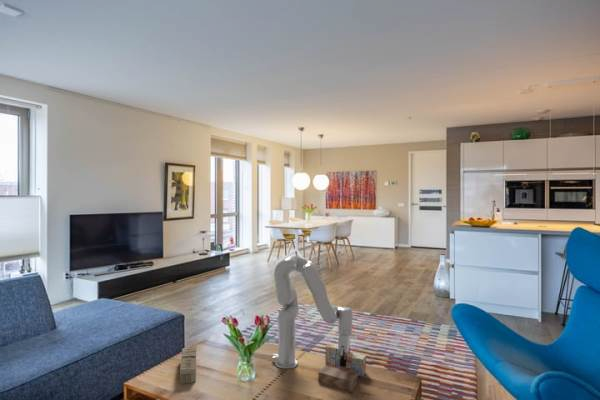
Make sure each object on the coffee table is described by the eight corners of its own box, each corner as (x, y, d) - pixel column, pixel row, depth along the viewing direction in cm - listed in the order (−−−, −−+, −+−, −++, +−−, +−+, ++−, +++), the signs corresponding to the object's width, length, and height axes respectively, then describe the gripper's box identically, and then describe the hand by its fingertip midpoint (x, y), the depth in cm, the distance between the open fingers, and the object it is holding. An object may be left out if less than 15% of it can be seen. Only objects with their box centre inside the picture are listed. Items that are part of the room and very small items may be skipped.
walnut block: (318, 382, 185) (318, 372, 185) (325, 374, 193) (325, 365, 193) (351, 391, 176) (351, 381, 176) (357, 383, 184) (357, 373, 184)
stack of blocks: (366, 372, 195) (366, 349, 195) (362, 377, 189) (362, 353, 190) (329, 363, 205) (329, 342, 205) (324, 368, 199) (325, 345, 199)
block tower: (182, 362, 206) (179, 385, 178) (182, 347, 207) (179, 368, 178) (196, 360, 208) (195, 384, 180) (196, 346, 209) (195, 366, 181)
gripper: (341, 324, 207) (341, 356, 207) (334, 335, 191) (333, 369, 191) (354, 326, 204) (354, 358, 204) (348, 337, 188) (347, 371, 188)
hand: (344, 363), depth 197 cm, fingers closed on stack of blocks, 6 cm apart
